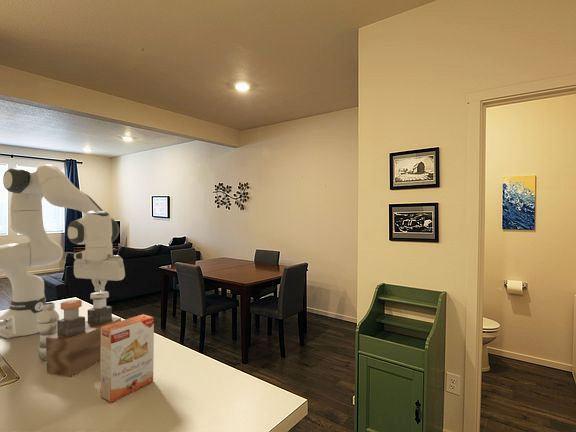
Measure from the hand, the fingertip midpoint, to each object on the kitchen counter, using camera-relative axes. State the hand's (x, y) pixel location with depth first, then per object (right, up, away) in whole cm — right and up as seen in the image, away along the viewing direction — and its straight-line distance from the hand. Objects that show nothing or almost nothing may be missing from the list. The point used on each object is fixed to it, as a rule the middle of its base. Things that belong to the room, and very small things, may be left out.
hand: (99, 290), depth 124 cm
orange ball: (-3, -8, -11) cm, 14 cm away
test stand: (-2, -24, -5) cm, 24 cm away
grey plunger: (0, -7, 0) cm, 7 cm away
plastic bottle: (-16, -24, -4) cm, 29 cm away
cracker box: (+22, -25, -24) cm, 41 cm away
